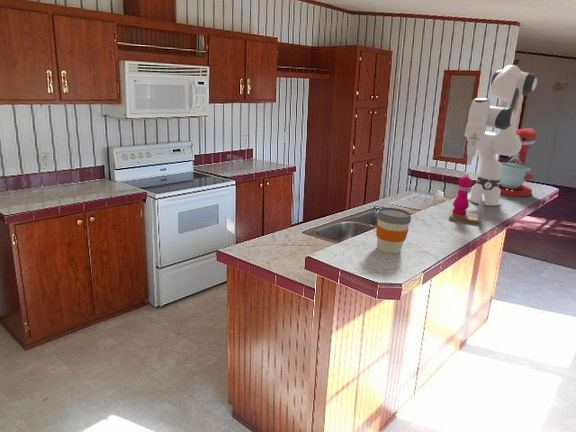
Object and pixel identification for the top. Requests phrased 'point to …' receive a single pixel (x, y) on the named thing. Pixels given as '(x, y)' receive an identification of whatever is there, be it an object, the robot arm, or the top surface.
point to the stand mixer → (518, 167)
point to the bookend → (469, 214)
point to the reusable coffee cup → (392, 229)
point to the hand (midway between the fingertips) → (468, 162)
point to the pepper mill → (462, 196)
